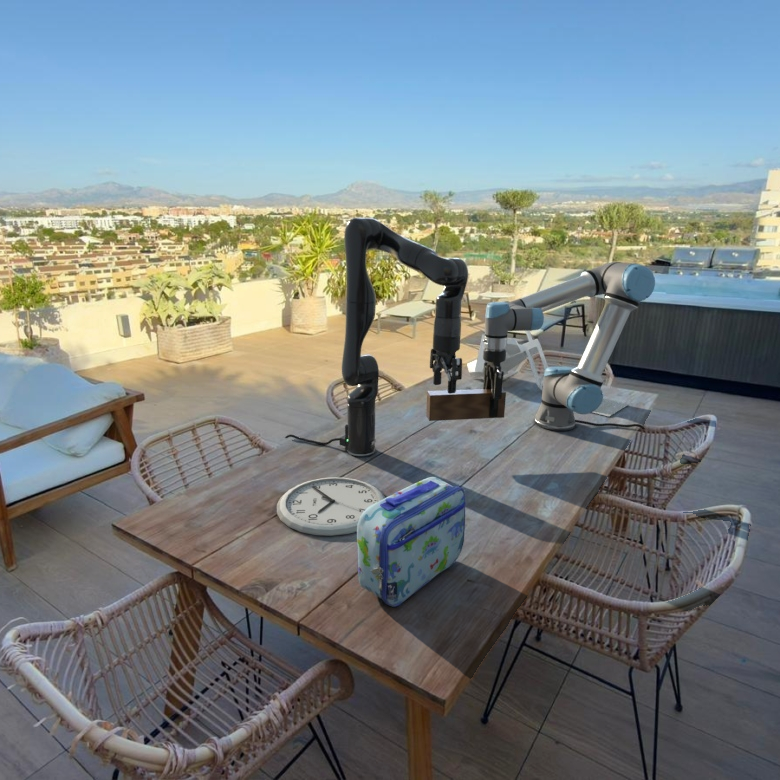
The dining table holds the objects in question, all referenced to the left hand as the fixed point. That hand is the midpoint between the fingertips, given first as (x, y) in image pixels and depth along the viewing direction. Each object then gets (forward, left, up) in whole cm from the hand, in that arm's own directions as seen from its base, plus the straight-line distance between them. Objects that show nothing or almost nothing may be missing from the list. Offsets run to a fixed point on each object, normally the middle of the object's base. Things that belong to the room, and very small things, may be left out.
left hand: (444, 388), depth 149 cm
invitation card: (+29, +100, -29) cm, 109 cm away
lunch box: (+15, -45, -29) cm, 56 cm away
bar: (-5, +30, -19) cm, 36 cm away
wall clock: (-18, -29, -29) cm, 45 cm away
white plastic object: (-17, +110, -29) cm, 115 cm away
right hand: (+2, +36, -18) cm, 40 cm away
